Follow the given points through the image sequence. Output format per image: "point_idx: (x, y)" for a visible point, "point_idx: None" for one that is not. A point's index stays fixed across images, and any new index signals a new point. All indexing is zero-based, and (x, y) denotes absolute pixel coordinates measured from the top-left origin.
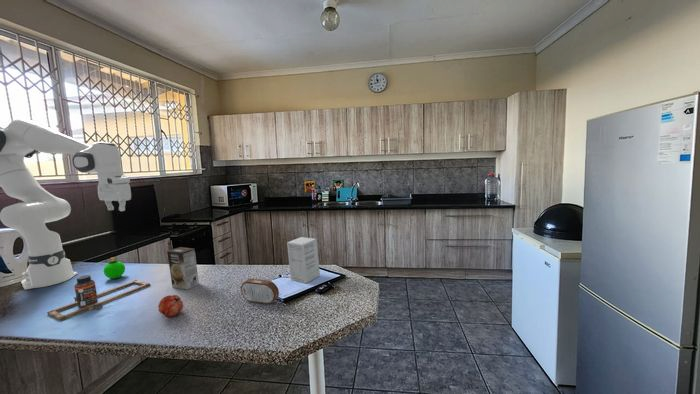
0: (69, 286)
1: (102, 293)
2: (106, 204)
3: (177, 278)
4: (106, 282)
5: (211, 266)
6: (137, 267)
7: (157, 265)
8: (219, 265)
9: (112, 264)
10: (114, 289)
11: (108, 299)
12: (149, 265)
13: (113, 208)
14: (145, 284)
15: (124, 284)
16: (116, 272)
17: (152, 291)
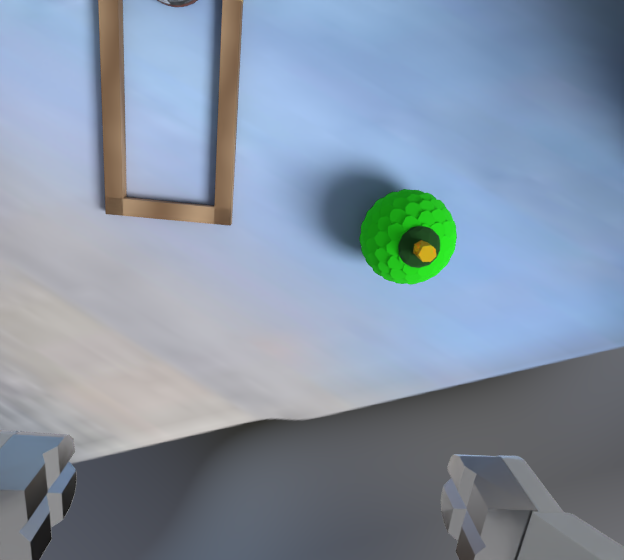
0: (535, 89)
1: (220, 60)
2: (607, 553)
3: None
4: (386, 178)
5: None
6: (427, 348)
7: (347, 390)
8: None
9: (397, 228)
10: (218, 116)
11: (100, 17)
12: (390, 380)
13: (449, 526)
14: (116, 199)
15: (227, 169)
16: (364, 220)
17: (25, 168)
